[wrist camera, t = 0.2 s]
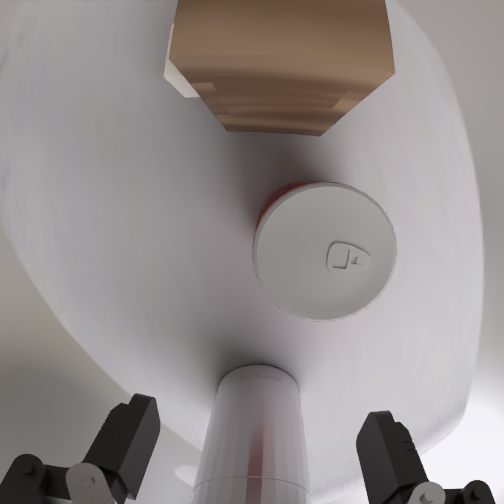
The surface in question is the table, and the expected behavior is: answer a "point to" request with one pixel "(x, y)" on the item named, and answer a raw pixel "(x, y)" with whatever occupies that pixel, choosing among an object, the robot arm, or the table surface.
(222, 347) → the table surface
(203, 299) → the table surface
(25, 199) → the table surface
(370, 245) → the canned food
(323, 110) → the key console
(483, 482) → the robot arm
